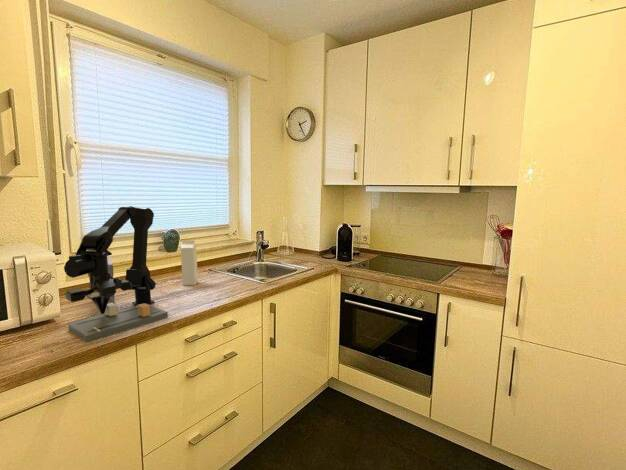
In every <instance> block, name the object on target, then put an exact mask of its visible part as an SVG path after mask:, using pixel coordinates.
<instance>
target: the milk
mask: <svg viewBox="0 0 626 470" xmlns="http://www.w3.org/2000/svg"><path fill="white" fill-rule="evenodd" d="M181 242H182V243H181V246H180V261H181V277H182V278H181V282H182V286H195V285H196V284H198V283H199V280H198V279H199V277H198V276H199V275H198V259H197V258H198V257H197V255H198V254H197V244H195V243H196V242H195V240H181Z"/></svg>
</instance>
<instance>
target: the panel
mask: <svg viewBox="0 0 626 470" xmlns="http://www.w3.org/2000/svg"><path fill="white" fill-rule="evenodd" d="M146 304H147V303H146ZM147 305H150V315H149V316H145V317H142V316H140V315H138V306H136V305H134V306H131V307H127V308H125V309H124V308H123V309H120V310H117V315H113V316H109V315H107V314H105V313H104V314H100V315H97V316H93V317H89V318H86V319H81V320H78V321H77V320H76V321H73V322H69V323H68V324H67V325H68V331H70V332H71V333H73V334H75V335H76V336H77V337H78V338H79V339H81V340H83V341H84V342H85V343H88V342H92V341H95V340H98V339H102V338H104V337H108V336H112V335H114V334H118V333H122V332H125V331H127V330H132V329H134V328H138V327H141V326H144V325H148V324H150V323H153V322H157V321H160V320H164V319H167V318H168V317H169V316H168V315H169V314H168V313H169V312H168V311H166V310H164V309H161V308H159V307H156V306H154V305H152V304H147Z"/></svg>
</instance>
